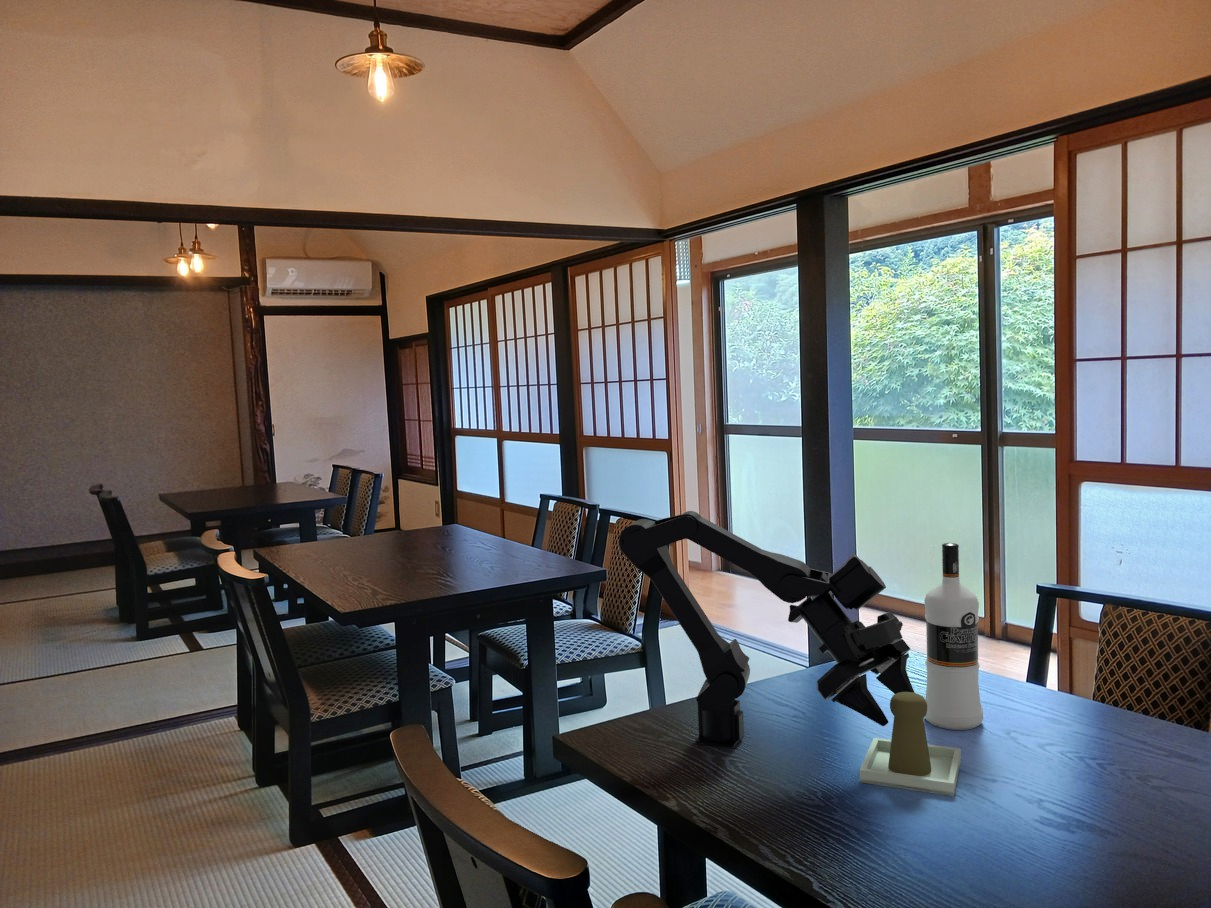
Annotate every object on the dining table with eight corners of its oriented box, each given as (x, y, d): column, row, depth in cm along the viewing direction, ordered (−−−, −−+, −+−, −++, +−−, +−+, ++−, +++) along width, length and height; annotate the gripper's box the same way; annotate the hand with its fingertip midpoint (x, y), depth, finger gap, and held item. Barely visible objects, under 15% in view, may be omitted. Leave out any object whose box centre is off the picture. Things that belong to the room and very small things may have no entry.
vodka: (960, 708, 155) (958, 536, 153) (995, 727, 146) (993, 545, 144) (912, 715, 153) (909, 541, 151) (945, 735, 144) (942, 550, 142)
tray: (860, 782, 129) (859, 770, 128) (874, 748, 140) (873, 737, 140) (954, 796, 123) (953, 783, 123) (960, 760, 134) (960, 748, 134)
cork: (934, 777, 128) (933, 702, 127) (890, 775, 129) (888, 701, 128) (928, 760, 134) (927, 688, 133) (886, 758, 135) (884, 687, 134)
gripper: (833, 610, 128) (907, 703, 121) (897, 586, 141) (967, 669, 134) (788, 654, 134) (855, 745, 127) (853, 627, 147) (918, 708, 140)
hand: (901, 715), depth 132 cm, fingers open, 9 cm apart
